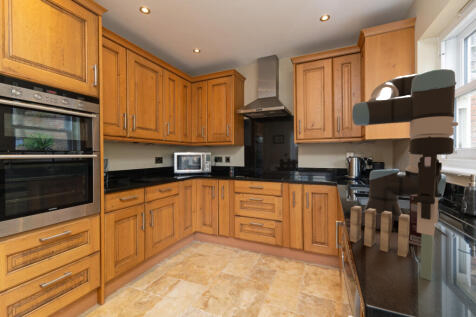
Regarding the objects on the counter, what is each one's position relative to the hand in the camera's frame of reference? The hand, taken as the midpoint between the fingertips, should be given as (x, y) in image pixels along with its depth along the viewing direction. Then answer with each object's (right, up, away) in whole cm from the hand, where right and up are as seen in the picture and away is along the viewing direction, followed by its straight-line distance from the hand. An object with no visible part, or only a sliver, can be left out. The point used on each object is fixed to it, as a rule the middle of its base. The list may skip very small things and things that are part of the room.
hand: (427, 227), depth 47 cm
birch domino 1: (-5, -11, +20) cm, 24 cm away
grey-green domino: (0, -11, 0) cm, 11 cm away
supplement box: (+16, -12, +20) cm, 28 cm away
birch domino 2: (-2, -11, +17) cm, 21 cm away
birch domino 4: (+3, -12, +11) cm, 16 cm away
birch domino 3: (+1, -11, +14) cm, 18 cm away
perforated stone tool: (+9, -12, +33) cm, 36 cm away
